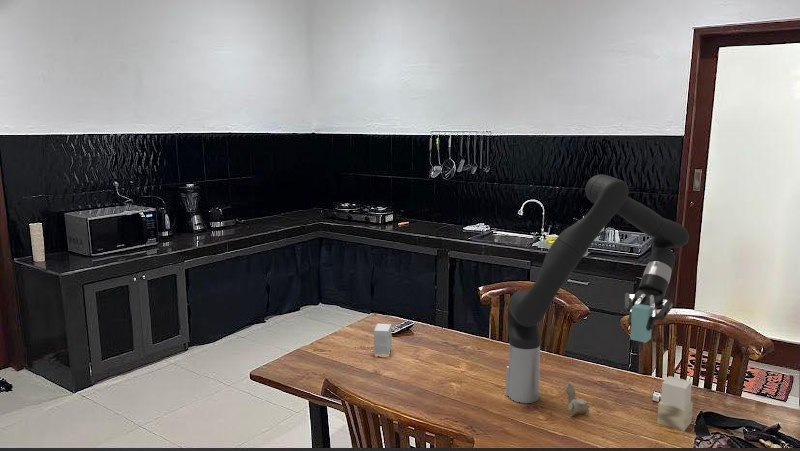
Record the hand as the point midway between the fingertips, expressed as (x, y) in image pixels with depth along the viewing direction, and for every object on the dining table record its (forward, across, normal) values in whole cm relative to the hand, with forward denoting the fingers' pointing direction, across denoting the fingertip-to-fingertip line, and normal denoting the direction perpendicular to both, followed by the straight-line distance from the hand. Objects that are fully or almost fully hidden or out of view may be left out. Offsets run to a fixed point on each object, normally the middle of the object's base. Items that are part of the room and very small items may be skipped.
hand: (639, 327), depth 167 cm
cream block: (+16, +12, +10) cm, 22 cm away
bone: (+29, -11, +5) cm, 31 cm away
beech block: (+20, +12, +14) cm, 27 cm away
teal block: (+2, 0, +4) cm, 5 cm away
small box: (+32, -86, +3) cm, 91 cm away
